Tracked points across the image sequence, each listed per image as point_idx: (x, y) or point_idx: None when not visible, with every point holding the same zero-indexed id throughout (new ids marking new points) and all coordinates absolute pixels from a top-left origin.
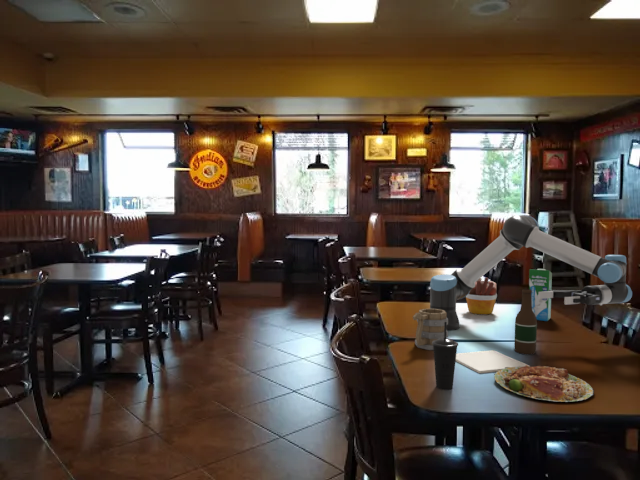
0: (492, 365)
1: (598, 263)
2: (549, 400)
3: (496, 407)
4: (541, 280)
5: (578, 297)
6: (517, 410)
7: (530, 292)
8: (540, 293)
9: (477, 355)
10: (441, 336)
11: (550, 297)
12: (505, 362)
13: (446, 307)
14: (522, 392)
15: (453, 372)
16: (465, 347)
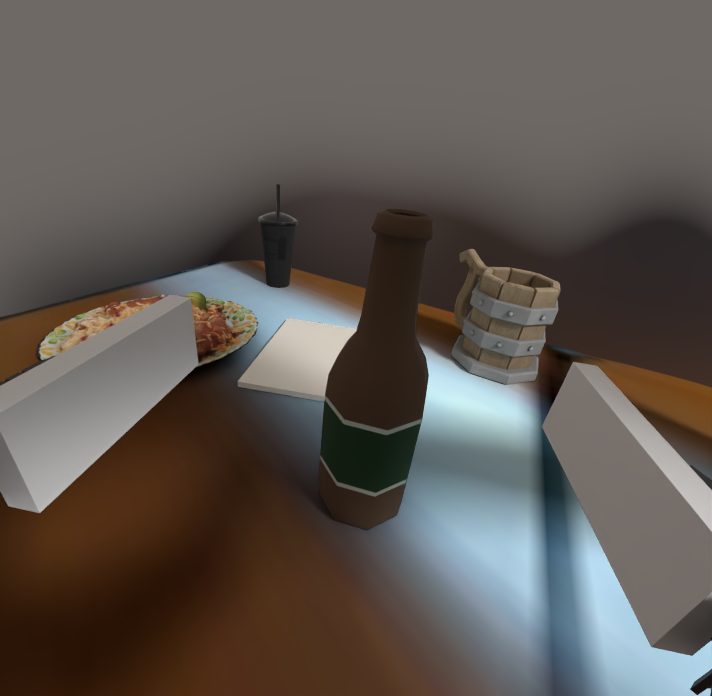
0: (296, 342)
1: None
2: (124, 302)
3: (186, 278)
4: None
5: (4, 401)
6: (159, 282)
7: (373, 225)
8: (568, 382)
9: None
10: (463, 327)
11: (622, 572)
12: (294, 365)
13: None
14: None
15: (264, 261)
16: (466, 397)
